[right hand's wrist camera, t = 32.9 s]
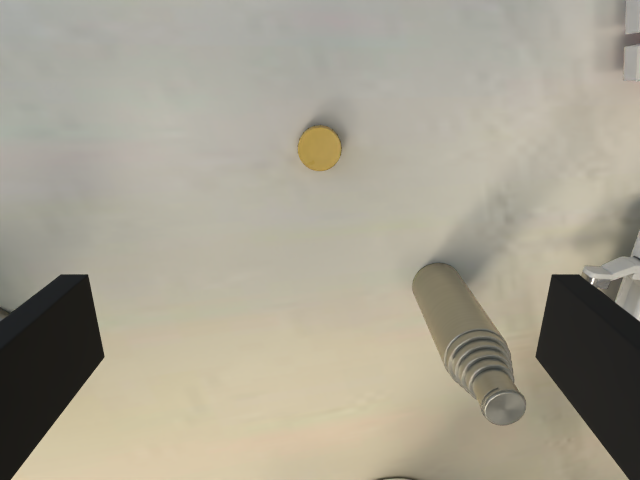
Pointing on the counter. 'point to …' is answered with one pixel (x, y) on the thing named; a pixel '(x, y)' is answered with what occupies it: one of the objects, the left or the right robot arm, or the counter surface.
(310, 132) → the cap
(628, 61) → the toy
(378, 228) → the counter surface
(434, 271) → the bottle
